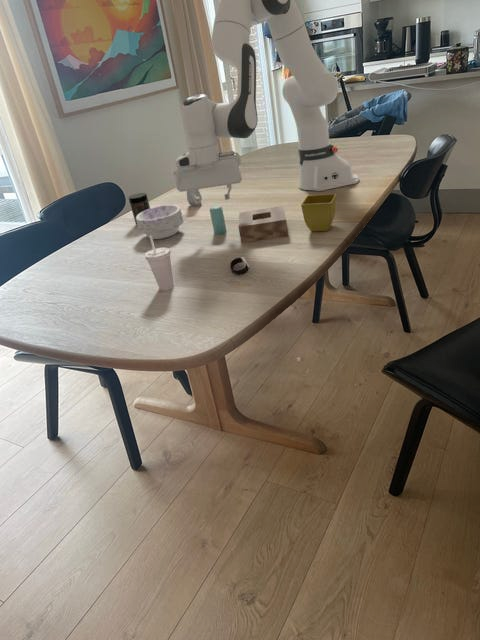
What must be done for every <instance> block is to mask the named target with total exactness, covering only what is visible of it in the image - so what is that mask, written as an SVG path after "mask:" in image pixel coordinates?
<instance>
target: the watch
mask: <svg viewBox="0 0 480 640" xmlns="http://www.w3.org/2000/svg"><path fill="white" fill-rule="evenodd" d="M237 264H243V265H244V267H243V268H241V269H234V267H235V266H236V265H237ZM229 267H230V270H231V272H232V273H233V274H234V275H237V276H243V275H245V274H247V273H248V272H249V269H250V265H249V263H248V262H247V260H246V258H245V257H244V256H241V257H236V258H233V259H232V260H231V261H230V263H229Z"/></svg>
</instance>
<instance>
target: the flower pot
mask: <svg viewBox="0 0 480 640" xmlns="http://www.w3.org/2000/svg"><path fill="white" fill-rule="evenodd" d="M300 205H301V210H302V215H303V219H304V222H305V225H306V227H307V229H309V231H310V232H328V231H329V230H330V228H331V226H332V224H333V221H334V218H335V215H336V207H337V193H326V194H325V193H324V194H323V193H322V194H311V195H310V194H309V195H306V196H305V198H304V199H303V201H302V202H301V204H300Z"/></svg>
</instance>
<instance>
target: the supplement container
mask: <svg viewBox="0 0 480 640" xmlns="http://www.w3.org/2000/svg"><path fill="white" fill-rule="evenodd" d="M127 198H128V202H129V204H130V210H131V212H132V215H133V219H134V223H135V225H136V226H138V225H137V222H136V216H137V215H138V214H139V213H141V212H143V211H145V210H147V209H150V208H151V206H150V202H149V199H148V194H147V193H146V192H138V193H133V194H132V195H129V196H128V197H127Z"/></svg>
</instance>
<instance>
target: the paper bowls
mask: <svg viewBox="0 0 480 640" xmlns="http://www.w3.org/2000/svg"><path fill="white" fill-rule="evenodd" d="M136 222H137V225H136V226H137V228H138V231H139V233H140V234H143V235H146V236H147V237H148V238H149V239H150V236H152V239H153V240H162V239H167V238H169V237H172V236H174V235H175V234H177V233H178V232H179V228H180V226H181V225H182V224H183V223H184V217H183V212H182V208H181V207H180V206H179V205H176V204H165V205H159V206H155V207H150V209H147V210H145V211H143V212H141V213H139V214H138V215H137V216H136Z"/></svg>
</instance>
